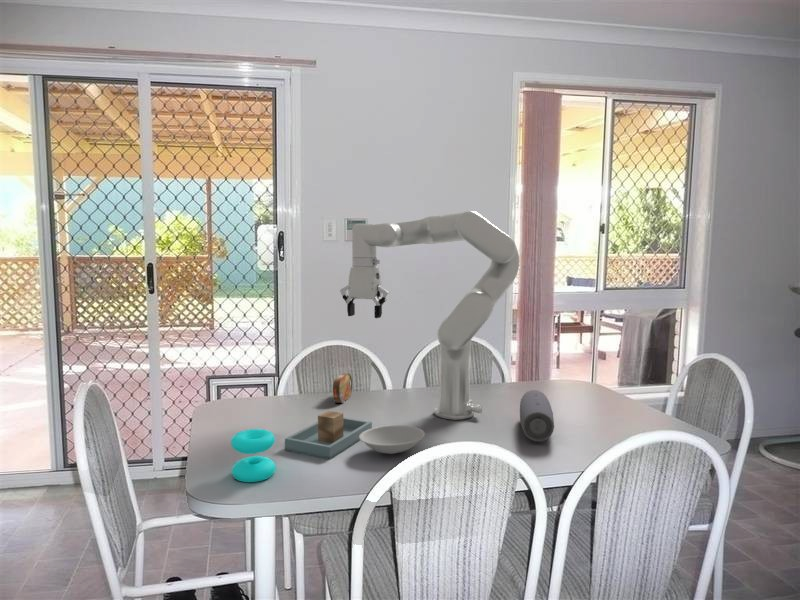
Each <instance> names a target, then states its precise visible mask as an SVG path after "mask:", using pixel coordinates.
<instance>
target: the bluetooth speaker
mask: <svg viewBox="0 0 800 600" xmlns="http://www.w3.org/2000/svg"><path fill="white" fill-rule="evenodd" d="M554 420H555V419H554V412H553V409H552V405H551V404H550V401H549V399H548V397H547V395H545V394H544V393H543V392H542V391H541V390H537V389H532V390H528V391H526V392H525V393H524V394H523V396H522V397H521V399H520V404H519V421H520V426H521V428H522V431H523V433H524V435H525V436H526V437H527V438H528V439H529V440H531V441H534V442H545V441H546V440H549V439H550V437H551V436H552V435H553V432H554V430H555V421H554Z"/></svg>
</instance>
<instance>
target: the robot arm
mask: <svg viewBox="0 0 800 600" xmlns="http://www.w3.org/2000/svg"><path fill="white" fill-rule="evenodd" d="M351 230H352V233H351V236H352V239H351V240H352V244H351V245H352V251H351V252H352V256H351V258H352V261H351V262H352V267H350V270H349V275H348V285H346V286H344V287H342V288H340V290H339V292H340V294H341V296H342V299H343V300H344V301H345V304H346V306H347V308H346V309H347V310H346V311H347V316H348V317H353V316H354V315H355V314H356V312H355V307H356V306H355V302H354V301H355V300H356V299H360V300H372V301H373V302H374V304H375V305H374V318H375V319H379V318H381V317H382V314H383V305H384V303H386V301H387V300H388V297H389V295H390V291H388V290H387V289H385V288H384V287H383V286H382V279H381V272H380V268H379V267H377V265H380V263H381V262H380V260H379V259H377V247H381V248H386V249H387V248H393V247H394V248H395V247H401V246H409V245H418V244H419V245H420V244H422V245H423V244H425V245H435V244H444V243H452V242H461V241H466V243H468V244H469V245H471V246H472V247H473V248H475V249H476V250H477V251H478V252H480V253H481V254H483V255H484V256H486V257H487V258H488V259H489V260H491V263H490V265H489V267H488V268H487V270H486V271H485V272H484V273H483V275H482V276H481V278H480V279H479V280H478V281H477V283H476V284H475V285H474V286H473V287H472V288H471V289H470V290H469V291H468V292H466V293H465V295H464V296H463V297H462V299H461V300H460V301H459V302H458V304H457V305H456V306H455V307H454V309H453V310H452V311H451V312H450V314H449V315H448V316H447V317H446V318H444V319H443V321H442V322H441V324H440V325H439V327H438V330H437V341H438V343H439V345H440V348H439V349H440V350H439V396H438V397H439V402H438V403H439V406H437V407H435V408H434V411H433V412H434V415H435V416H437V418H441V419H445V420H452V421H453V420H455V421H457V420H459V421H460V420H467V419H470V418H472V417H474V415H475V413H477V414H482V413H483V407H482V406H481V405H480V404H474V403H473V399H471V397H470V395H471V394H470V391H471V389H470V388H471V386H470V384H471V379H470V378H471V354H472V353H471V350H472V339H473V338H474V337H475V336H476V334H477V333H478V332H479V331H480V329H481V328H482V327H483V326H484V325H485V323H487V321H488V320H489V319H490V317H491V315H492V313H493V311H494V307H495V306H496V305H497V303H498V302H499V301H500V299H501V298H502V297H503V296H504V295H505V293H506V292H507V290H508V289H509V288H510V287H511V285H512V284H513V283H514V281H515V280H516V277H517V276H518V273H519V272H518V271H519V267H520V255H519V251H518V247H517V246H516V242H515V240H514V238H512V237H511V236H509V235H508V234H507V233H506V232H504V231H502V230H501V229H500V228H498V227H497V226H495V225H494V224H493V223H491V222H490V221H489V220H488V219H487V218H485V217H483V215H481V214H480V213H478V212H477V211H475V210H467V211H464V212H456V213H447V214H439V215H431V216H427V217H424V218H422V219H421V218H420V219H417V220H411V221H410V220H409V221H404V222H396V223H395V222H394V223H392V222H383V223H378V224H377V223H376V224H372V223H356V224H354V225H352V229H351Z"/></svg>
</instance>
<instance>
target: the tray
mask: <svg viewBox="0 0 800 600" xmlns="http://www.w3.org/2000/svg"><path fill="white" fill-rule="evenodd" d="M371 428H373V422H372V421H367V420H361V419H356V418H355V419H354V418H349V417H344V416H343V437H342V438H340V439H339V440H337V441H335V442H334V443H328V442H323V441H318V421H316V422H314V423H312V424H310V425H309V426H307V427H305V428H302V429H300V430H299V431H297V432H295V433H293V434H291V435H289V436H287V437H285V438H284V450H285V452H286V451H287V452H290V453H291V452H293V453H295V454H303V455H306V456H309V457H310V456H311V457H315V458H321V459H326V460H332V459H333V458H335V457H336V456H338V455H340V454H341V453H343V452H345V451H347V450H348V449H349V448H350V447H352V446H353V445H355V444H357V443H359V442H361V440H360V439H359V435H360V434H361V433H362V432H364V431H366V430H368V429H371Z"/></svg>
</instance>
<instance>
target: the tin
mask: <svg viewBox="0 0 800 600" xmlns="http://www.w3.org/2000/svg"><path fill="white" fill-rule="evenodd" d="M352 391H353V379H352V375H351V373H349V372H348V373H341V374H340V375H339V376H337V378H335V379H334V381H333V384H332V394H333V401H334V403H336V404H344V403H345V402H346V401H347V400H348V399H349V398H350V397H351V395H352V393H353V392H352ZM348 397H349V398H348ZM347 398H348V399H347ZM346 399H347V400H346ZM345 400H346V401H345ZM344 401H345V402H344ZM343 402H344V403H343Z"/></svg>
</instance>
